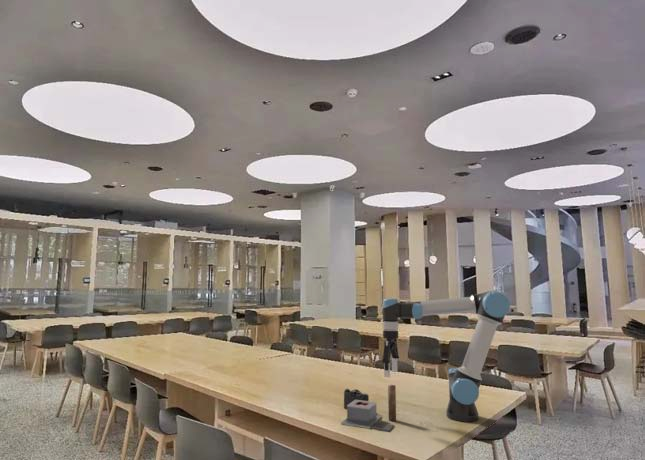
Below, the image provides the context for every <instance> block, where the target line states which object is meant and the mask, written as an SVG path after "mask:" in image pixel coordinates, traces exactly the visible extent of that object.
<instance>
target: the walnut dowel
mask: <svg viewBox="0 0 645 460" xmlns="http://www.w3.org/2000/svg"><path fill="white" fill-rule="evenodd" d="M396 386H397V385H396V384H395V385H394V384H388V385H387V391H388V393H387V394H388V396H387V398H388V399H387V400H388V402H387V404H388V409H387V410H388V421H389V422H392V423H393V422H396V421H397V394H396V393H397V392H396V391H397V389H396Z"/></svg>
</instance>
